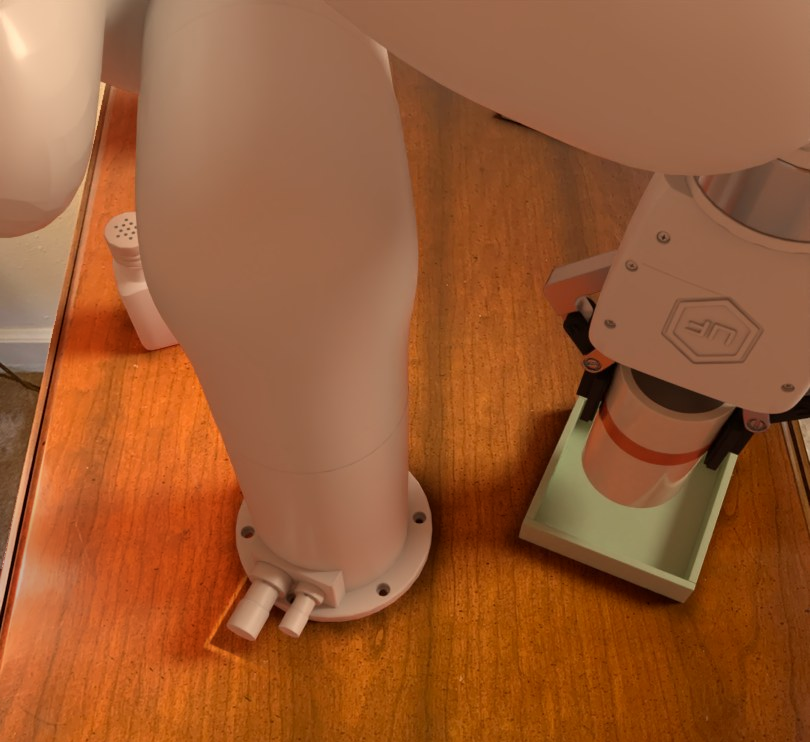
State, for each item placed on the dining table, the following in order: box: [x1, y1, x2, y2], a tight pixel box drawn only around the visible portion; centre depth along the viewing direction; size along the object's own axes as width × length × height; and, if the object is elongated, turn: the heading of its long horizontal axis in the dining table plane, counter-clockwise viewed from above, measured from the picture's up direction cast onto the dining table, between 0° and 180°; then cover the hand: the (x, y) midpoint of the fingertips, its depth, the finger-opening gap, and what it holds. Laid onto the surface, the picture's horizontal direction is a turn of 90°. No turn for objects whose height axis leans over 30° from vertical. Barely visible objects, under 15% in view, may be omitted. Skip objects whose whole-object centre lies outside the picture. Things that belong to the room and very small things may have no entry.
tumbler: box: [581, 362, 737, 508], centre depth 45 cm, size 6×6×9 cm
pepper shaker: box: [103, 211, 180, 351], centre depth 56 cm, size 4×4×10 cm
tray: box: [518, 395, 739, 604], centre depth 53 cm, size 11×11×2 cm
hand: (654, 424), depth 46 cm, fingers closed on tumbler, 6 cm apart
